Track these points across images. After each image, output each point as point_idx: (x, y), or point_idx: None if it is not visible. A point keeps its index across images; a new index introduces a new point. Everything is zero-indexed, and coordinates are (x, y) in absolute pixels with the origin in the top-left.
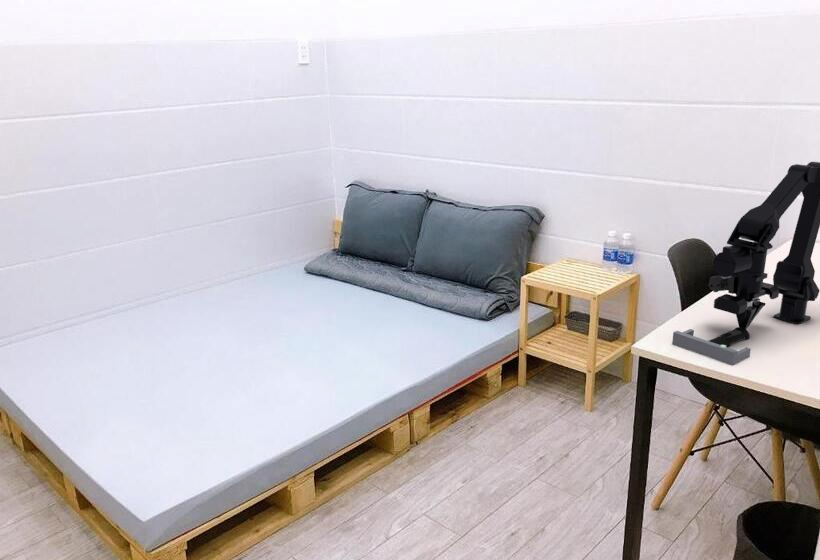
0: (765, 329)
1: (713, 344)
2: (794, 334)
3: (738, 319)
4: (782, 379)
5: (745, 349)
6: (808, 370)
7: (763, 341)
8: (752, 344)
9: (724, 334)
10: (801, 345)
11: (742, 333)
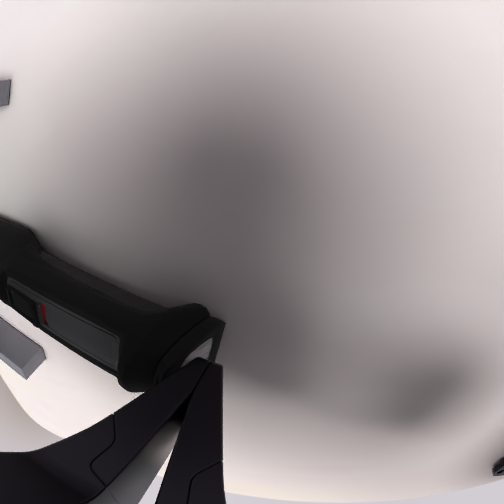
0: (408, 421)
1: None
2: (381, 480)
3: (123, 414)
4: (32, 401)
5: (9, 363)
6: None
7: None
8: None
9: (12, 291)
10: (271, 487)
11: (113, 374)
